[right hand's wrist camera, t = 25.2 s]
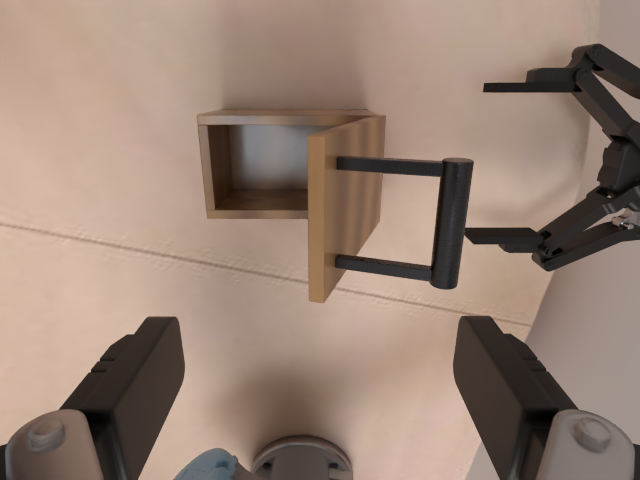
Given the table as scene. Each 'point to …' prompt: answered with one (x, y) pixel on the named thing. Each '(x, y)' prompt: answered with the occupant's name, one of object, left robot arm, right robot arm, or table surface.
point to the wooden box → (261, 160)
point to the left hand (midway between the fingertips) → (478, 166)
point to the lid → (374, 207)
